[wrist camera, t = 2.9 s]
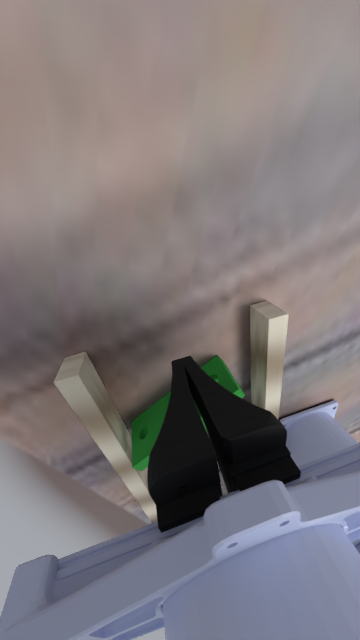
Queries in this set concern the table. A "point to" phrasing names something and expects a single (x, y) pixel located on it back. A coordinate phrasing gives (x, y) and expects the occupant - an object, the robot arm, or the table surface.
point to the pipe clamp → (153, 417)
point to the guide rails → (109, 428)
